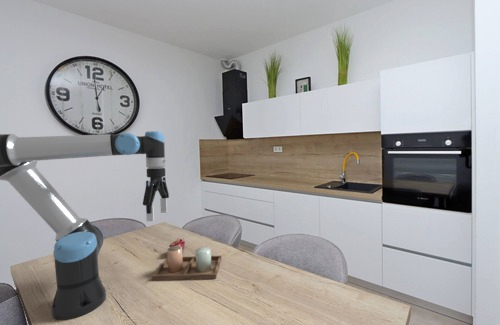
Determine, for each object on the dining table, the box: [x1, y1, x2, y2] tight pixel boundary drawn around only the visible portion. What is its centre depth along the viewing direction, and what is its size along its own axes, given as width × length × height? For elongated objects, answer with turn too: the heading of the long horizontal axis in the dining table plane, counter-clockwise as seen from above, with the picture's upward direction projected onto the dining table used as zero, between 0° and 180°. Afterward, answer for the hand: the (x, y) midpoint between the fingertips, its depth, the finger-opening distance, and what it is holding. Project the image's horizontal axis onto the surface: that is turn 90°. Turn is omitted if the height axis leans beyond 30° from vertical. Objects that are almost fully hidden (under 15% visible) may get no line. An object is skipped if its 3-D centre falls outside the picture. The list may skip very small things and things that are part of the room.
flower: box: [169, 238, 186, 255], centre depth 120 cm, size 10×9×8 cm
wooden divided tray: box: [151, 255, 222, 282], centre depth 103 cm, size 17×25×2 cm
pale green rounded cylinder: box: [195, 246, 212, 272], centre depth 103 cm, size 6×6×8 cm
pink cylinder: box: [166, 246, 184, 273], centre depth 103 cm, size 6×6×9 cm
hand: (157, 216), depth 105 cm, fingers open, 13 cm apart
